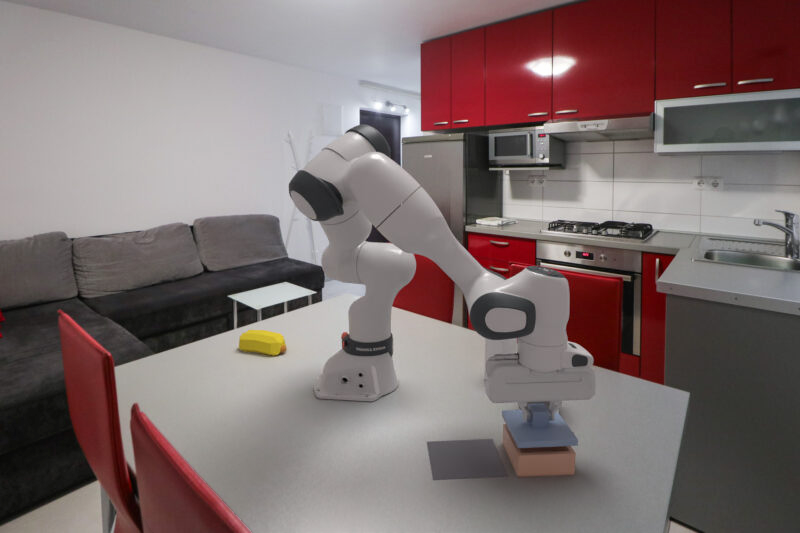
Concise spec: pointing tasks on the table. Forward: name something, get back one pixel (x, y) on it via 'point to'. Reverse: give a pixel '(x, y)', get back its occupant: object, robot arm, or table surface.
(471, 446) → the mat
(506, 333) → the robot arm
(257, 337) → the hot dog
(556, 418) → the lid
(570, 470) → the dish
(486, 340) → the milk
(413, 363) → the table surface
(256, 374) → the table surface
